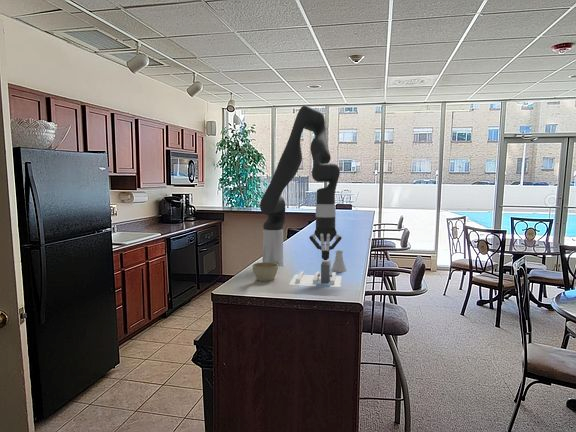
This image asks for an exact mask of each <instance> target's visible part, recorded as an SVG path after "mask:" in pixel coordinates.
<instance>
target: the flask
mask: <svg viewBox="0 0 576 432" xmlns="http://www.w3.org/2000/svg"><path fill="white" fill-rule="evenodd" d="M334 252H335V257H334V261H333V264H332V267H331V268H330V271H332V272H336V273H344V272H347V270H348V269H347V268H346V264H345V261H344V257H343V253H344V250H339V249H337V250H335V251H334Z"/></svg>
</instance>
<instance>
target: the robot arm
mask: <svg viewBox="0 0 576 432" xmlns="http://www.w3.org/2000/svg"><path fill="white" fill-rule="evenodd" d="M325 120H326V118H325V115H324V113H323V112H322V111H321V110H318V109H316V108H313V107H311V106H308V105H303V106H301V108H300V109H299V110H298V112H297V114H296V117H295V119H294V123H293V125H292V129H291V131H290V135H289V137H288V141H287V143H286V145H285V147H284V149H283V152H282V153H281V156H280V158H279V161H278V163H277V166H276V169H275V171H274V173H273V174H272V175H273V176H272V177H271V180H270V183H269V185H268V186H267V188H266V190H265V191H264V193H263V194H262V195H263V196H262V197H261V199H260V203H259V208H260V212H261V213H262V214H264V215H265V216H267V219H266V220H265V221H264V223H263V225H262V227H263V229H262V230H263V232H262V233H263V234H262V235H263V245H262V248H261V249H262V252H261V254H262V262H270V263H276V264H278V267H283V266H284V224H285V222H286V201H285V199H284V197H283V196H282V193H283V192H284V190H285V188H286V187H287V186H288V184H289V183H290V182H291V181H292V180H293V179H294V178H295V176H297V175H296V174H297V173H298V171H299V169H300V168H301V167H300V166H301V164H302V161H303V154H302V152H303V151H302V147H301V137H302V134H303V131H304V130H306V131H309V132H313V134H314V138H313V139H312V141H311V142H310V154H311V158H312V168H311V177H312V179H313V180H314V181H315V182H317V183H324V182H325V183H327V182H328V184H327V185H326V186H325V187H321V188H319V189H317V190H316V194H315V195H316V199H315V200H316V204H315V205H316V206H315V230H314V233H313V234H311V235H310V236H309V240H310V241H311V243H312V244H313V245H314V247H315V248H316V249H317V250H320V251H321V259H322V261H323V260H330V251H331V250H334V249H335V247H336V246H337V245H338V244H339V242H340V241H341V240H342V238H343V237H342V236H341V235H339V234H338V233H337V230H336V215H337V214H336V204H335V203H336V189H337V185H338V183H339V182H338V181H339V178H340V174H341V172H340V171H341V169H340V167H339V165H338V164H336V163H334V162H332V163H331V162H330V161H331V159H332V157H331V153H330V149H329V146H328V142H327V132H326V130H327V129H326V121H325ZM317 239H318V241H319V242H320V244H319V242H318V241H317ZM333 239H334V240H335V241H333ZM332 241H333V242H332ZM331 242H332V244H331ZM325 243H326V244H325ZM330 244H331V245H330Z"/></svg>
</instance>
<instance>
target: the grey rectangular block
mask: <svg viewBox="0 0 576 432" xmlns="http://www.w3.org/2000/svg"><path fill="white" fill-rule="evenodd" d="M331 262H332V261H331V259H327V260H323V259H322V261H321V264H320V275H321V283H329V281H330V274H331V269H332V267H331Z"/></svg>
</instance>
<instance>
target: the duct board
mask: <svg viewBox="0 0 576 432" xmlns="http://www.w3.org/2000/svg"><path fill="white" fill-rule="evenodd" d="M341 283H342V275H337V272H334V271H332V272H331V273H330V281H329V283H321V271H316V272H315V274H305V270H299V273H297V274H296V273H295V274H294V275H293V277H292V279H291V280H290V282H289V283H288V286H304V287H305V286H306V287H307V286H308V287H324V288H325V287H326V288H327V287H328V288H331V287H332V288H341Z"/></svg>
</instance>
